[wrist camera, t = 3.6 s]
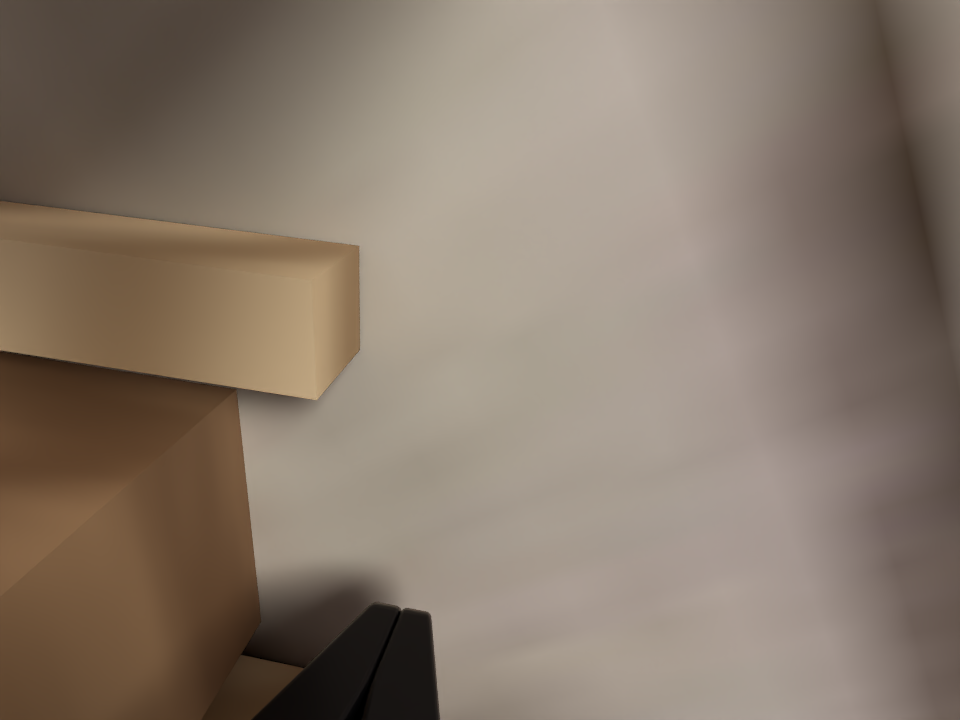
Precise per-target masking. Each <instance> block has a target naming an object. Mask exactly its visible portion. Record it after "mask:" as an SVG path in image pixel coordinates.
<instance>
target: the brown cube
mask: <svg viewBox="0 0 960 720" xmlns="http://www.w3.org/2000/svg"><path fill="white" fill-rule="evenodd" d="M260 623H261V615H260V606H259V596H258V587H257V578H256V568H255V559H254V549H253V540H252V531H251V521H250V512H249V503H248V493H247V484H246V474H245V465H244V456H243V446H242V437H241V428H240V418H239V409H238V399H237V390H236V389H231V388H225V387H218V386H212V385H206V384H200V383H193V382H187V381H181V380H175V379H168V378H162V377H156V376H150V375H143V374H137V373H131V372H125V371H118V370H112V369H106V368H99V367H93V366H87V365H81V364H74V363H68V362H62V361H56V360H49V359H43V358H37V357H31V356H24V355H18V354H12V353H6V352H0V720H201V719H202V717H203V716H204V714H205V713H206V711H207V709H208V708H209V706H210V704H211V703H212V701H213V699H214V698H215V696H216V695H217V693H218V691H219V690H220V688H221V686H222V685H223V683H224V681H225V680H226V678H227V677H228V675H229V673H230V672H231V670H232V668H233V667H234V665H235V663H236V662H237V660H238V659H239V657H240V655H241V654H242V652H243V650H244V649H245V647H246V645H247V644H248V642H249V641H250V639H251V637H252V636H253V634H254V632H255V631H256V629H257V627H258V626H259V624H260Z"/></svg>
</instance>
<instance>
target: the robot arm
mask: <svg viewBox="0 0 960 720" xmlns="http://www.w3.org/2000/svg"><path fill="white" fill-rule="evenodd" d="M251 720H440V714H439V702H438V691H437V679H436V667H435V655H434V644H433V632H432V620H431V615H430V614H429V613H428V612H426V611H421V610H415V609H410V608H405V609H403V610H402V611H401V608H400V607H398V606H395V605H390V604H385V603H380V602H375V603H372V604H371V605H370V606H368V607H367V608H366V609H365V610H364V611H363V612H362V613H361V614H360V615H359V616H358V617H357V618H356V619H355V620H354V621H353V622H352V623H351V624H350V625H349V626H348V627H347V628H346V629H344V630H343V631H342V632H341V633H340V634H339V635H338V636H337V637H336V638H335V639H334V640H333V641H332V642H331V643H330V644H329V645H328V646H327V647H326V648H325V649H324V650H323V651H322V652H321V653H320V654H319V655H317V656H316V657H315V658H314V659H313V660H312V661H311V662H310V663H309V664H308V665H307V666H306V667H305V668H304V669H303V670H302V671H301V672H300V673H299V674H298V675H297V676H296V677H295V678H294V679H293V680H291V681H290V682H289V683H288V684H287V685H286V686H285V687H284V688H283V689H282V690H281V691H280V692H279V693H278V694H277V695H276V696H275V697H274V698H273V699H272V700H271V701H270V702H269V703H268V704H267V705H266V706H264V707H263V708H262V709H261V710H260V711H259V712H258V713H257V714H256V715H255V716H254V717H253V718H252V719H251Z"/></svg>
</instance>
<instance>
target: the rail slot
mask: <svg viewBox="0 0 960 720" xmlns="http://www.w3.org/2000/svg"><path fill="white" fill-rule="evenodd" d="M0 350H2V351H8V352H15V353H21V354H27V355H34V356H40V357H46V358H53V359H59V360H65V361H72V362H78V363H85V364H91V365H97V366H104V367H110V368H116V369H123V370H129V371H135V372H142V373H148V374H154V375H161V376H167V377H173V378H180V379H186V380H192V381H199V382H205V383H211V384H218V385H224V386H230V387H237V388H243V389H249V390H256V391H262V392H268V393H275V394H281V395H287V396H294V397H300V398H306V399H313V400H317V399H318V398H319V397H320V396H321V395H322V394H323V392H324V391H325V390H326V389H327V388H328V386H329V385H330V384H331V383H332V382H333V381H334V379H335V378H336V377H337V376H338V375H339V374H340V372H341V371H342V370H343V369H344V368H345V367H346V365H347V364H348V363H349V362H350V361H351V359H352V358H353V357H354V356H355V355H356V354H357V352H358V351H359V350H360V307H359V246H355V245H347V244H339V243H331V242H323V241H315V240H307V239H299V238H291V237H284V236H276V235H268V234H260V233H252V232H244V231H236V230H228V229H220V228H212V227H204V226H196V225H188V224H180V223H172V222H164V221H156V220H148V219H140V218H132V217H124V216H116V215H108V214H100V213H92V212H84V211H76V210H68V209H61V208H53V207H45V206H37V205H29V204H21V203H13V202H5V201H0ZM303 669H304V668H300V667H296V666H291V665H286V664H281V663H277V662H272V661H267V660H263V659H258V658H253V657H249V656H244V655H240V657H239V659H238V660H237V662H236V663H235V665H234V667H233V668H232V670H231V672H230V673H229V675H228V677H227V678H226V680H225V681H224V683H223V685H222V686H221V688H220V690H219V691H218V693H217V695H216V696H215V698H214V699H213V701H212V703H211V704H210V706H209V708H208V709H207V711H206V713H205V714H204V716H203V717H202V719H201V720H251V719H252V718H253V717H254V716H255V715H256V714H257V713H258V712H259V711H260V710H261V709H262V708H263V707H264V706H266V705H267V704H268V703H269V702H270V701H271V700H272V699H273V698H274V697H275V696H276V695H277V694H278V693H279V692H280V691H281V690H282V689H283V688H284V687H285V686H286V685H287V684H288V683H289V682H290V681H291V680H293V679H294V678H295V677H296V676H297V675H298V674H299V673H300V672H301V671H302V670H303Z"/></svg>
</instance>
